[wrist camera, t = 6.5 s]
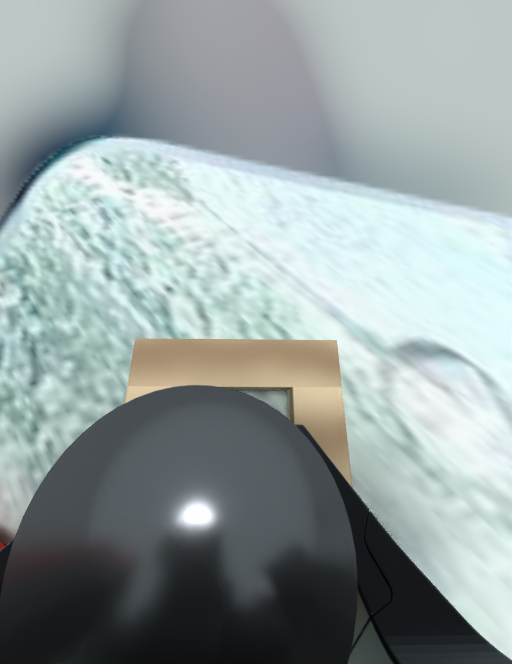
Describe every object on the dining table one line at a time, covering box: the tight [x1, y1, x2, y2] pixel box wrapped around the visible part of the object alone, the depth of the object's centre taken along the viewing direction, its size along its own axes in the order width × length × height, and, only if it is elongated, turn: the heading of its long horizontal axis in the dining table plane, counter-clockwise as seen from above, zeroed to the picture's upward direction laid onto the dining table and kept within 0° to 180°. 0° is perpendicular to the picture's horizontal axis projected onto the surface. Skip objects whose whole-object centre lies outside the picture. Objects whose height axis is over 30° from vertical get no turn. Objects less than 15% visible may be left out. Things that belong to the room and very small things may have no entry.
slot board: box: [125, 339, 352, 487], centre depth 15 cm, size 15×13×2 cm
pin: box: [0, 385, 358, 664], centre depth 9 cm, size 5×5×12 cm
